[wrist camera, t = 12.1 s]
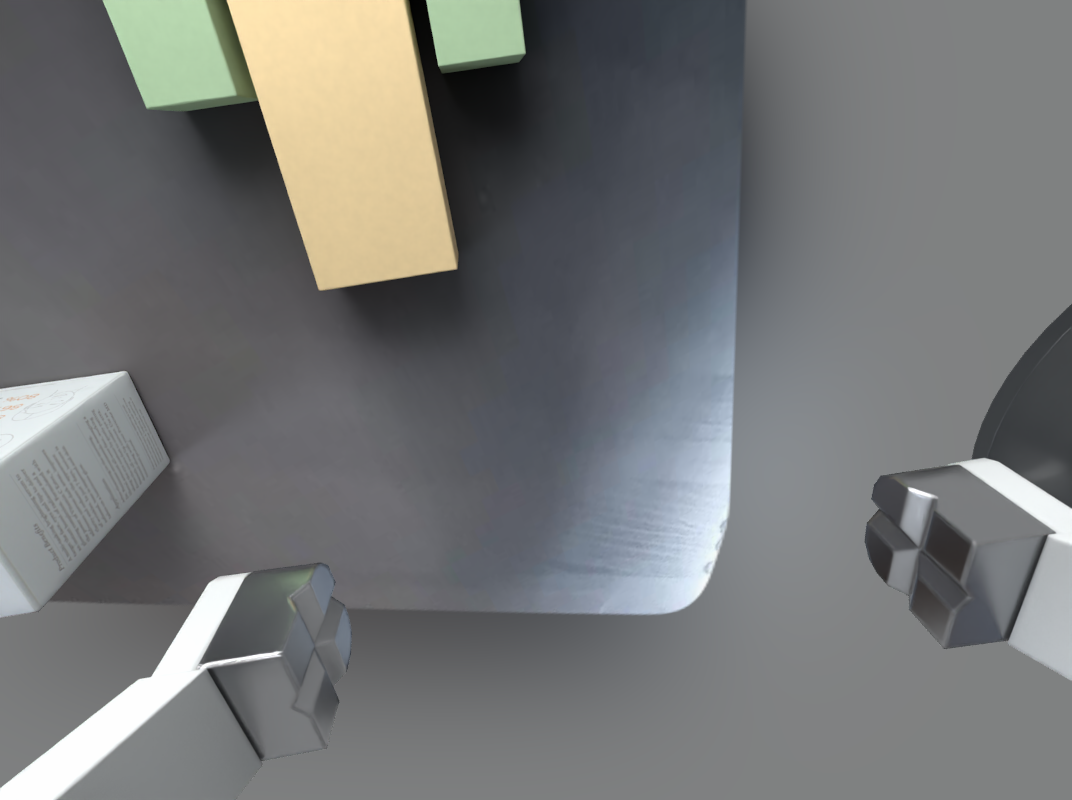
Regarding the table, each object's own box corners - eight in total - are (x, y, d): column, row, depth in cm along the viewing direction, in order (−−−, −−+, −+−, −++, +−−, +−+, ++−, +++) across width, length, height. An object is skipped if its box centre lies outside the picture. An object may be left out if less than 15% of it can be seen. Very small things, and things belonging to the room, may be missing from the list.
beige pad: (397, -60, 21) (387, -87, 18) (458, 255, 26) (458, 269, 24) (239, -39, 21) (205, -63, 18) (334, 274, 26) (318, 291, 24)
